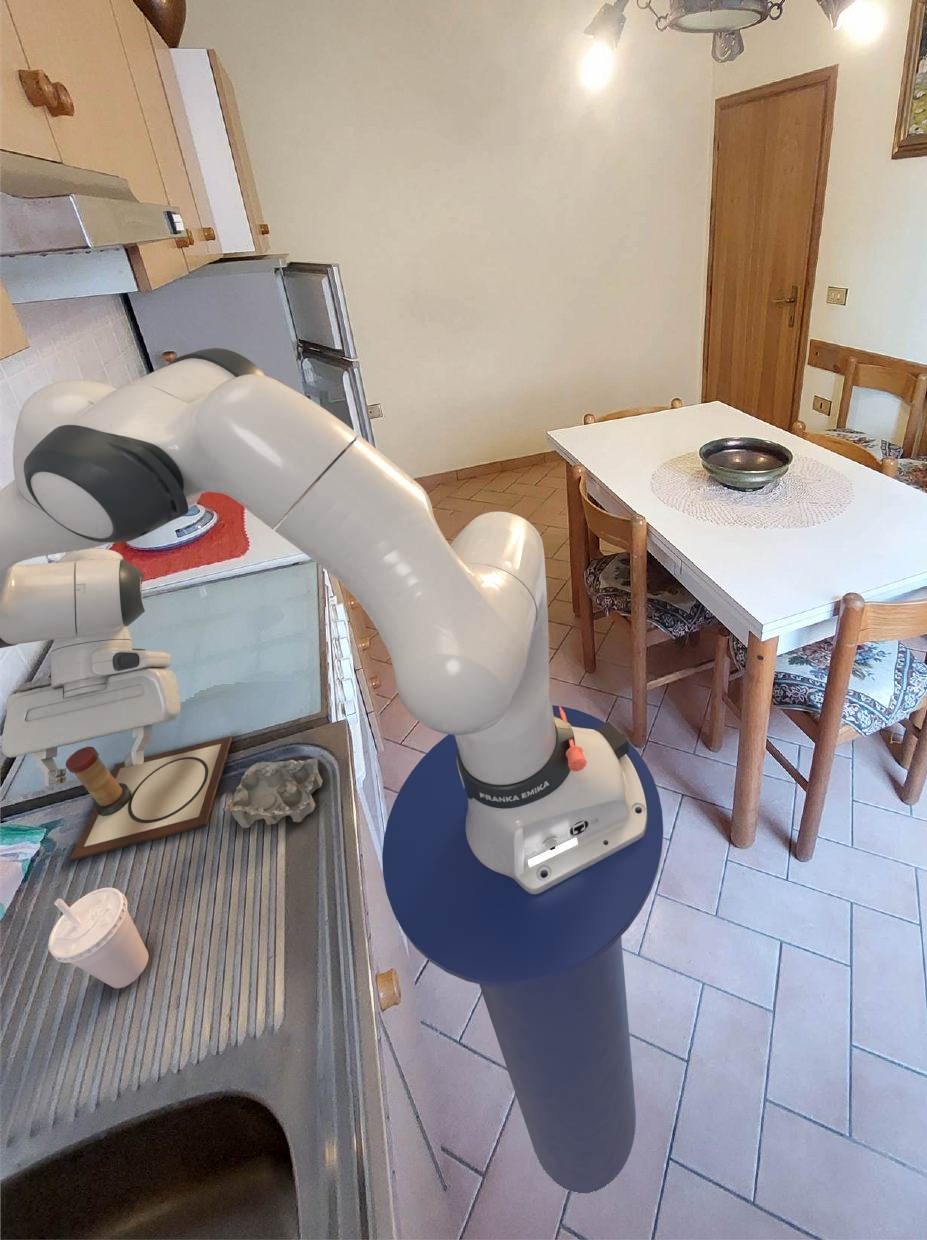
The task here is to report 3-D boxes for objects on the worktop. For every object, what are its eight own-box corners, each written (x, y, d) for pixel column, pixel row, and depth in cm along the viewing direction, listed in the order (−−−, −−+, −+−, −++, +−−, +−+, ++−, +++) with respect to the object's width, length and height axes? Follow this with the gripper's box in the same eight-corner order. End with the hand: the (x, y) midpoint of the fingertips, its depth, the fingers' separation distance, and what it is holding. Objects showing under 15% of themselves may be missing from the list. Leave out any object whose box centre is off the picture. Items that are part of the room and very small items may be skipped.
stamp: (136, 784, 83) (103, 740, 79) (124, 811, 80) (90, 766, 75) (104, 793, 83) (70, 748, 78) (92, 820, 79) (55, 774, 75)
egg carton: (228, 831, 77) (216, 811, 75) (254, 777, 84) (244, 758, 82) (310, 825, 77) (300, 805, 75) (329, 772, 83) (320, 753, 81)
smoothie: (91, 965, 65) (23, 895, 58) (157, 920, 68) (100, 849, 62) (97, 1020, 60) (24, 951, 54) (167, 969, 64) (107, 898, 57)
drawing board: (233, 738, 90) (231, 734, 90) (207, 825, 78) (205, 822, 78) (116, 766, 87) (114, 763, 87) (71, 861, 75) (68, 858, 75)
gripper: (-11, 687, 78) (-14, 802, 74) (160, 650, 81) (165, 758, 77) (25, 686, 84) (24, 792, 80) (183, 651, 87) (189, 752, 83)
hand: (95, 775), depth 79 cm, fingers open, 8 cm apart
